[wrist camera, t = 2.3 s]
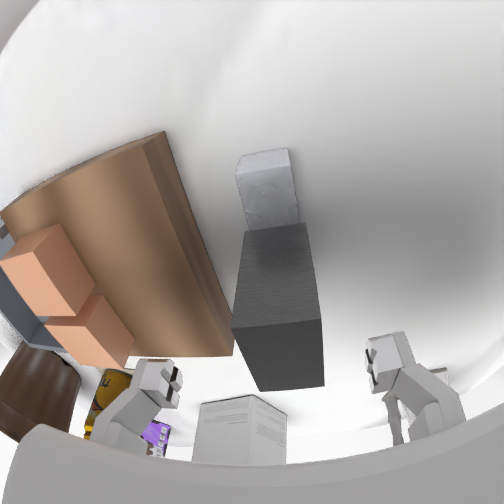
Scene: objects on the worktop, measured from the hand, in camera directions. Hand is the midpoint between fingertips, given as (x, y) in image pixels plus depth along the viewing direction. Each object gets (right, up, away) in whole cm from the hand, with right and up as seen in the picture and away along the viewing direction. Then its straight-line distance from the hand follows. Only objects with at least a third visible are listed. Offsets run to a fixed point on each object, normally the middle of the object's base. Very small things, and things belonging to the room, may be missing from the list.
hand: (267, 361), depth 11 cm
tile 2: (-14, +4, +5) cm, 16 cm away
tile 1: (-13, -1, +9) cm, 16 cm away
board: (-10, +4, +9) cm, 14 cm away
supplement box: (-2, -17, +24) cm, 30 cm away
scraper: (+1, +5, +7) cm, 9 cm away
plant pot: (-33, -14, +24) cm, 43 cm away
